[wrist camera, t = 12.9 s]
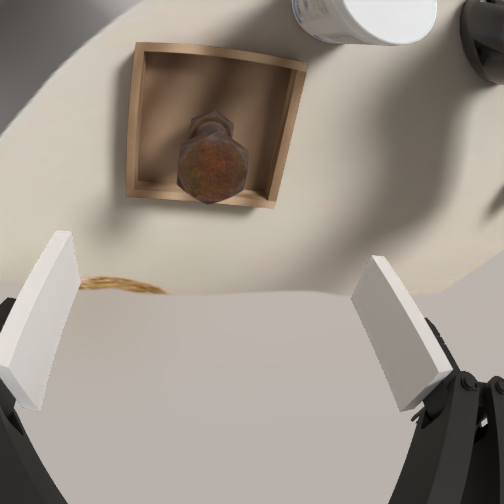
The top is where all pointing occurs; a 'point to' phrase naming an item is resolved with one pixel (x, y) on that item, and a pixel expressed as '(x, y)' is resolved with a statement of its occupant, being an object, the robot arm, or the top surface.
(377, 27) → the supplement tub
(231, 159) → the bolt
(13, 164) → the top surface
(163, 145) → the tray
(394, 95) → the top surface
